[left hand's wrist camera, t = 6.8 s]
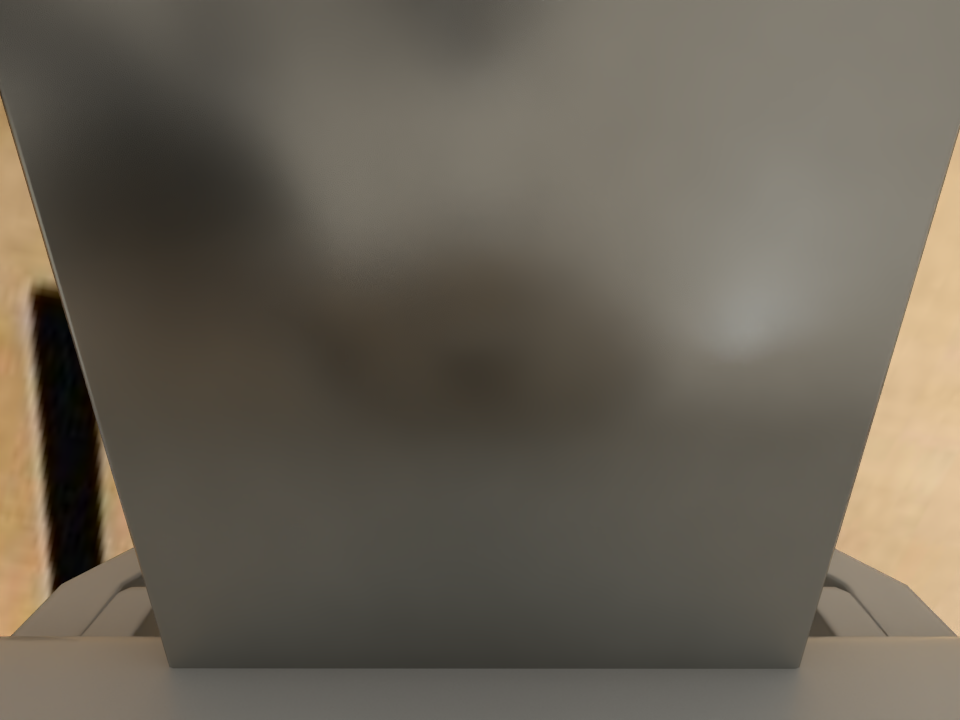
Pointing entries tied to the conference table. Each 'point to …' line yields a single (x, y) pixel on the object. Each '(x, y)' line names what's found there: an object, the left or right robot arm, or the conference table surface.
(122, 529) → the conference table surface
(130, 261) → the box
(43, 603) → the left robot arm
